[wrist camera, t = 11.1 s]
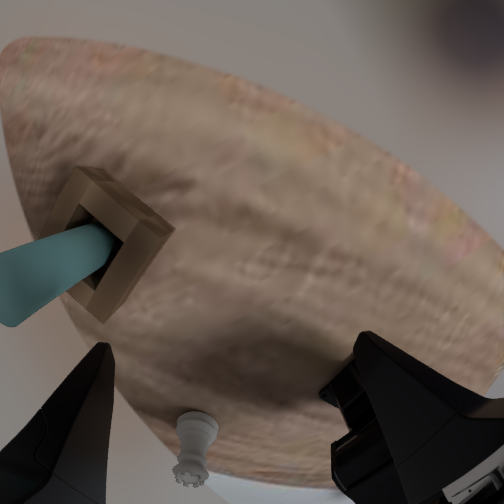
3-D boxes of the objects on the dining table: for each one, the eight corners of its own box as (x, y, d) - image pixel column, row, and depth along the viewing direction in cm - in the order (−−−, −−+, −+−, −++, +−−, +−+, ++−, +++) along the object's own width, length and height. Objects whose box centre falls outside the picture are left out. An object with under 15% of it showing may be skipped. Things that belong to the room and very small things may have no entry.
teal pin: (133, 234, 21) (31, 290, 8) (114, 265, 22) (16, 340, 9) (105, 210, 21) (-12, 241, 8) (86, 242, 21) (-24, 294, 8)
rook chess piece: (184, 436, 26) (174, 491, 19) (171, 409, 25) (156, 467, 18) (223, 434, 26) (220, 491, 19) (213, 407, 25) (207, 468, 18)
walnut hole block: (175, 228, 22) (160, 238, 17) (124, 302, 23) (103, 324, 18) (103, 169, 20) (75, 166, 16) (60, 245, 21) (31, 255, 17)
